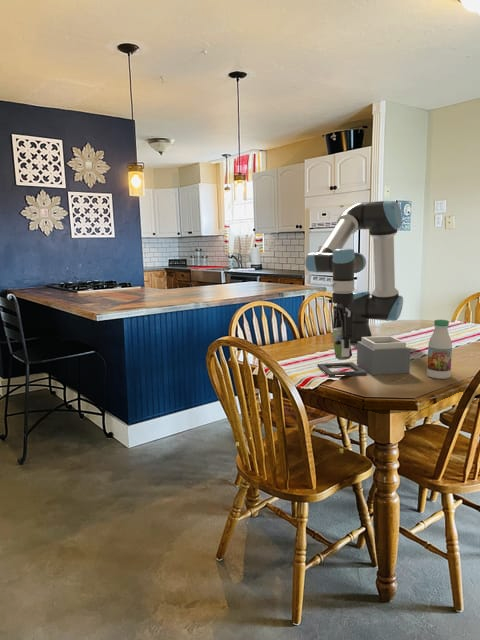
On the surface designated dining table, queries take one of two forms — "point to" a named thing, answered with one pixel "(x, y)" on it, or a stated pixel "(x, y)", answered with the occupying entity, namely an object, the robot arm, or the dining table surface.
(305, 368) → the dining table surface
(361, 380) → the dining table surface
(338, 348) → the beverage can
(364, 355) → the tray
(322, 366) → the gray square frame
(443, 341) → the milk bottle
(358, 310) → the robot arm
